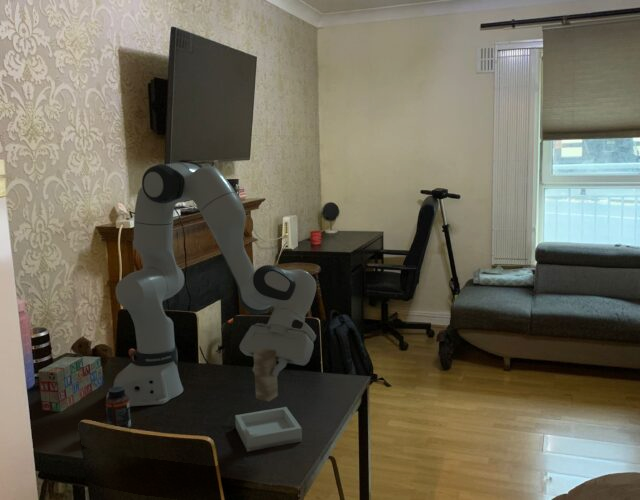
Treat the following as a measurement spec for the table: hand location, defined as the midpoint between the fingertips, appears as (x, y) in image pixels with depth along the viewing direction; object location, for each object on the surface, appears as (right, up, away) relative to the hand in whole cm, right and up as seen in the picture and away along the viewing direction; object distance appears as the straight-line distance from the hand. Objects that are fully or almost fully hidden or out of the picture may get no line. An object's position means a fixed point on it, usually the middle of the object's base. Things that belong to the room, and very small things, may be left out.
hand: (264, 374), depth 155 cm
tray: (+1, -16, +3) cm, 17 cm away
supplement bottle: (-39, -17, +9) cm, 43 cm away
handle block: (+1, -6, +2) cm, 6 cm away
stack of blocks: (-61, -14, +32) cm, 70 cm away
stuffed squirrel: (-62, -11, +51) cm, 81 cm away
